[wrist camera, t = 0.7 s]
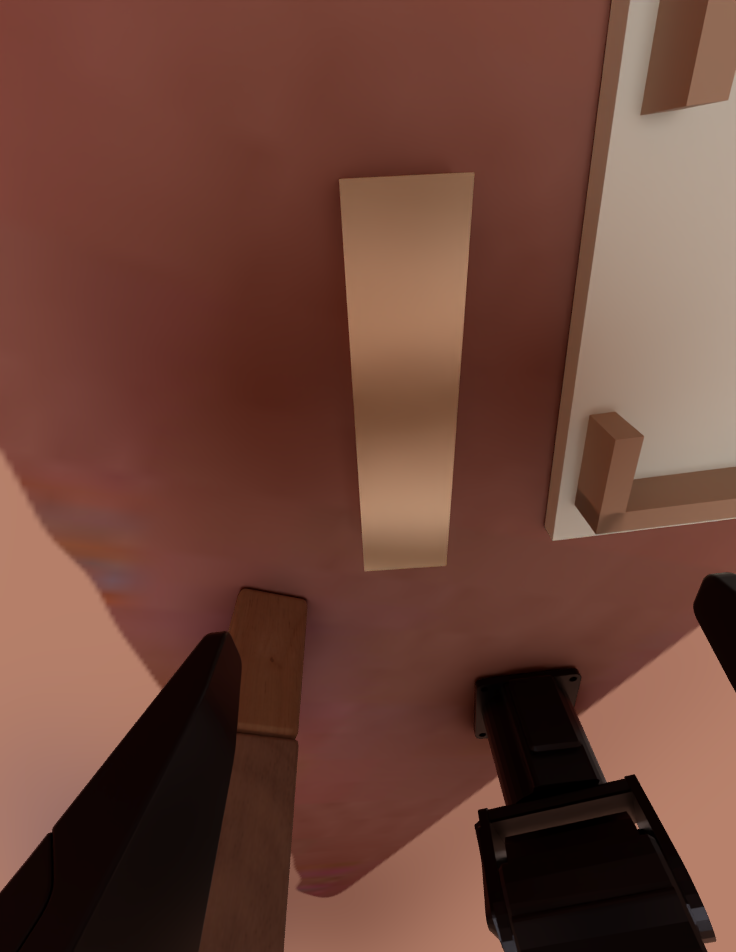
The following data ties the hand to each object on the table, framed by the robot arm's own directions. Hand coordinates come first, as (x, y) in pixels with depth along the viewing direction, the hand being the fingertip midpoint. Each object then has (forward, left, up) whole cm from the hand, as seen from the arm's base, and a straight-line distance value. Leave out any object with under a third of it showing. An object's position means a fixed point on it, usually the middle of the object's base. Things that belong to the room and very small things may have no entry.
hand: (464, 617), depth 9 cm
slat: (0, 0, -11) cm, 11 cm away
